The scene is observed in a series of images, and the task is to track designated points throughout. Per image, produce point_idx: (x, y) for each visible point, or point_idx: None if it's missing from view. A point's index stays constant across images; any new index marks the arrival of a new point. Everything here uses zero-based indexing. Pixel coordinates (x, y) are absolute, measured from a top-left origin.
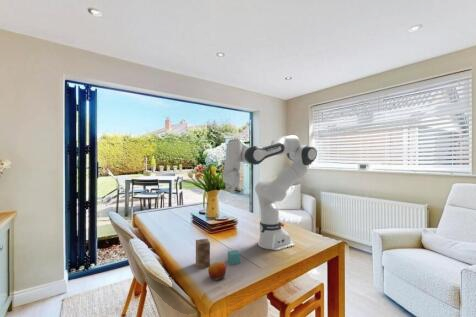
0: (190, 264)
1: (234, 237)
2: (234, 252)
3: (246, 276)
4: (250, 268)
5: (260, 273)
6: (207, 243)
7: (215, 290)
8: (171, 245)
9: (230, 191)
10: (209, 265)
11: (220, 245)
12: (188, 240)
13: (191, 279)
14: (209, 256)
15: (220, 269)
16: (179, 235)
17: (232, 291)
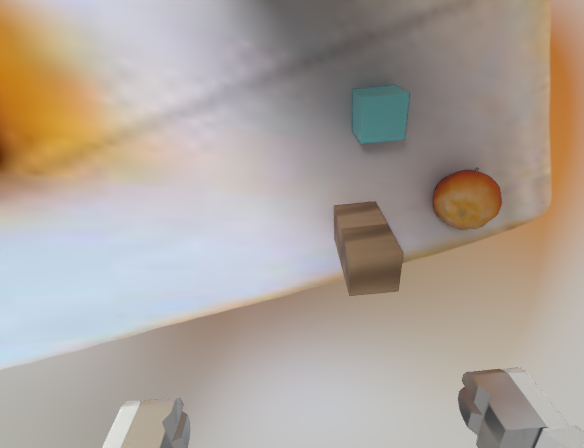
0: (337, 253)
1: (54, 24)
2: (386, 117)
3: (503, 89)
4: (458, 51)
5: (518, 19)
6: (401, 259)
7: (513, 201)
8: (171, 302)
9: (479, 436)
10: (376, 205)
11: (185, 134)
12: (119, 255)
13: (426, 252)
14: (385, 221)
15: (501, 200)
16: (60, 284)
17: (549, 159)
